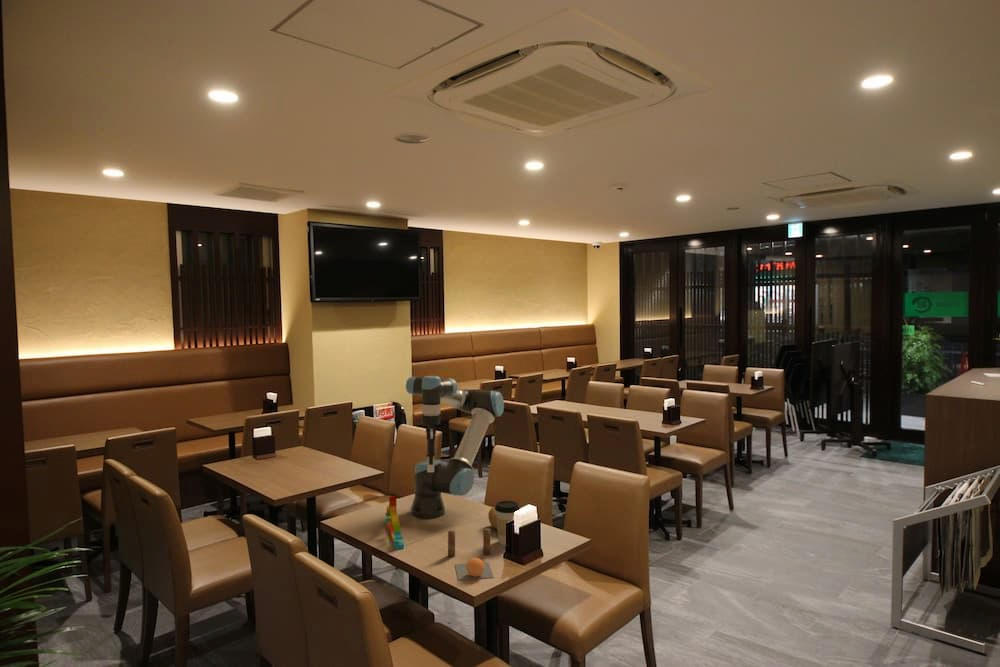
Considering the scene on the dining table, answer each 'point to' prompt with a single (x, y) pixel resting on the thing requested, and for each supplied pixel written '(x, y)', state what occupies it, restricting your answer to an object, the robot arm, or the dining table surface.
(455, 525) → the dining table surface
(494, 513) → the potato
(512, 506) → the coffee cup
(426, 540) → the dining table surface
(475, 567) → the ball
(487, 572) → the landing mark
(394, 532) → the colorful toy block stack
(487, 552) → the post
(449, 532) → the post
